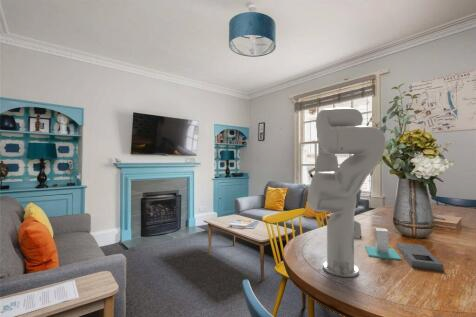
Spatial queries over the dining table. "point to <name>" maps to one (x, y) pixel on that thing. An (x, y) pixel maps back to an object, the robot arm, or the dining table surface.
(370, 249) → the mat
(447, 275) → the dining table surface
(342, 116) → the robot arm
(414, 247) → the slotted plate
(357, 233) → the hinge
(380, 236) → the steel block
